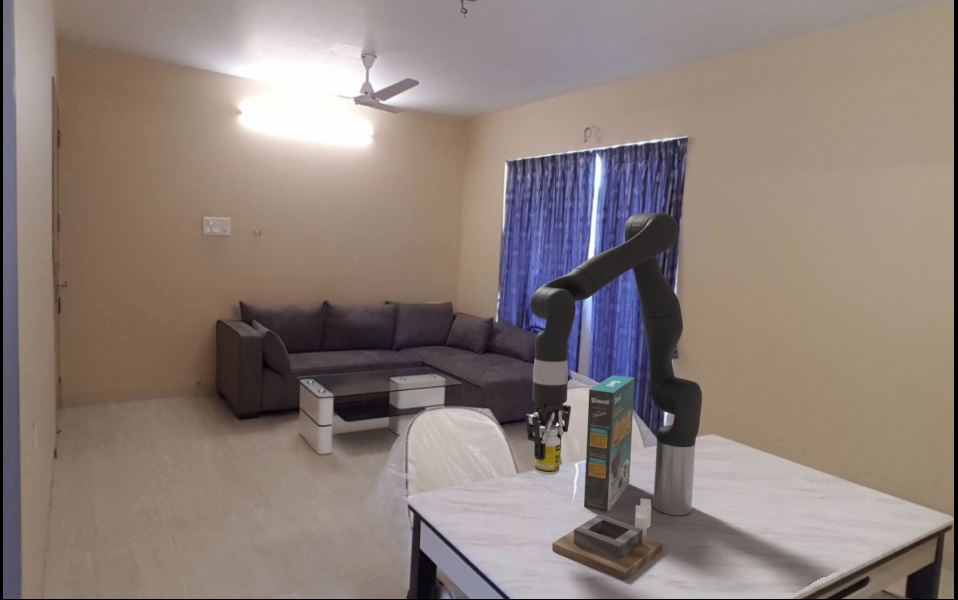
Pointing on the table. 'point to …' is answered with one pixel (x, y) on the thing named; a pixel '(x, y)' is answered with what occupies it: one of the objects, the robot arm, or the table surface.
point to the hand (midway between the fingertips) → (547, 455)
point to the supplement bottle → (550, 454)
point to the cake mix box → (608, 441)
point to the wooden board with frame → (609, 546)
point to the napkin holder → (643, 515)
